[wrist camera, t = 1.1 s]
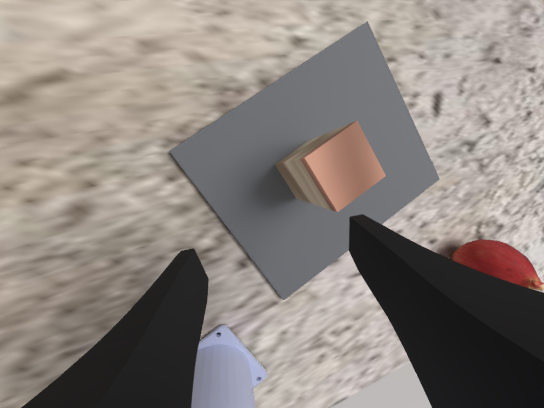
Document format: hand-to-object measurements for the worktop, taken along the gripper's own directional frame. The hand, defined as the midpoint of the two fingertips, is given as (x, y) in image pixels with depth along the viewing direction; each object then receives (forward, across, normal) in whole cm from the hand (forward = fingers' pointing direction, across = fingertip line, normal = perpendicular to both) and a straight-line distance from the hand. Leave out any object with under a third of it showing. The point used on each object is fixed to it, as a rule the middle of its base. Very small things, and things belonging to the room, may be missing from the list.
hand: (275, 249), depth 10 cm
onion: (+10, -21, +16) cm, 29 cm away
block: (+12, -4, +2) cm, 13 cm away
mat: (+13, -6, +2) cm, 14 cm away
